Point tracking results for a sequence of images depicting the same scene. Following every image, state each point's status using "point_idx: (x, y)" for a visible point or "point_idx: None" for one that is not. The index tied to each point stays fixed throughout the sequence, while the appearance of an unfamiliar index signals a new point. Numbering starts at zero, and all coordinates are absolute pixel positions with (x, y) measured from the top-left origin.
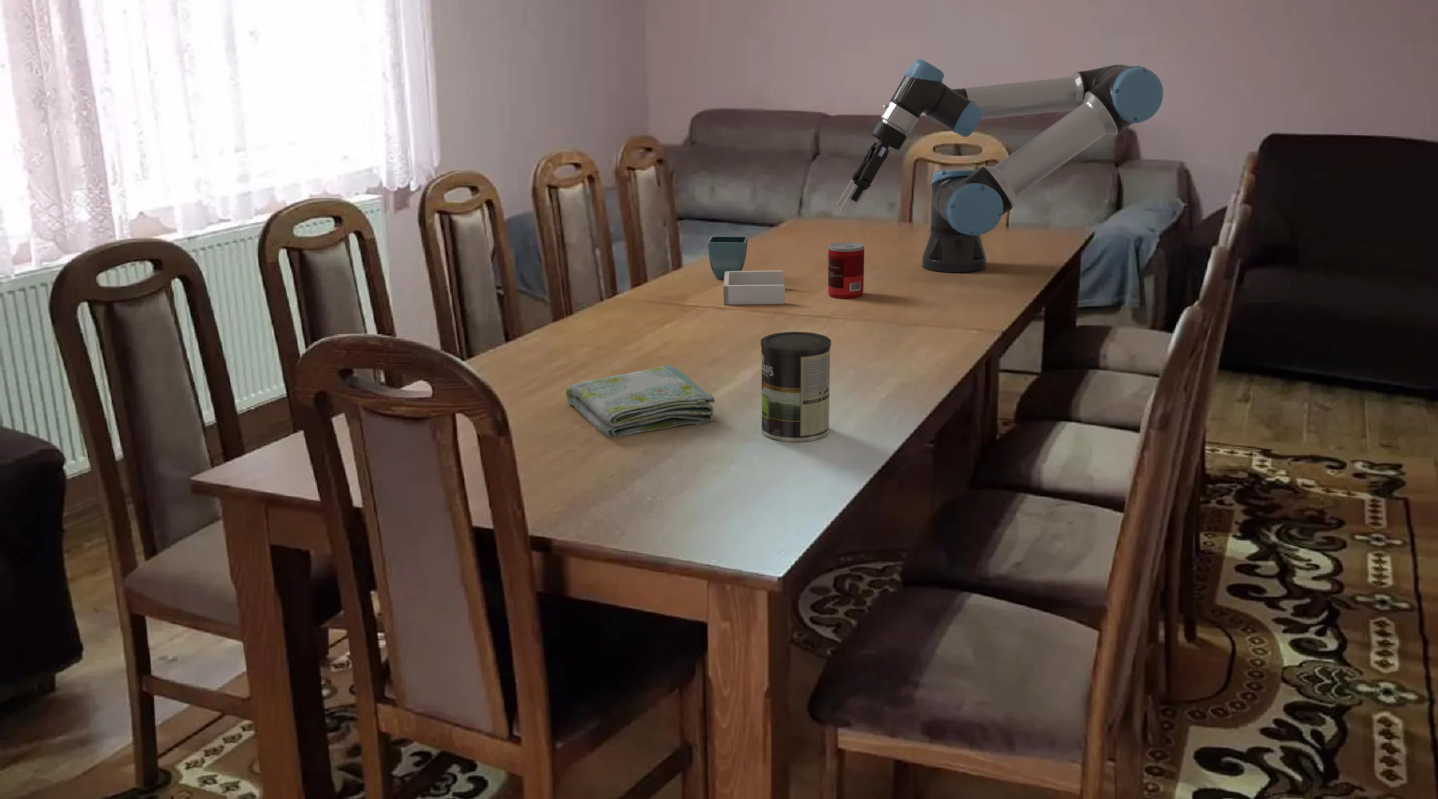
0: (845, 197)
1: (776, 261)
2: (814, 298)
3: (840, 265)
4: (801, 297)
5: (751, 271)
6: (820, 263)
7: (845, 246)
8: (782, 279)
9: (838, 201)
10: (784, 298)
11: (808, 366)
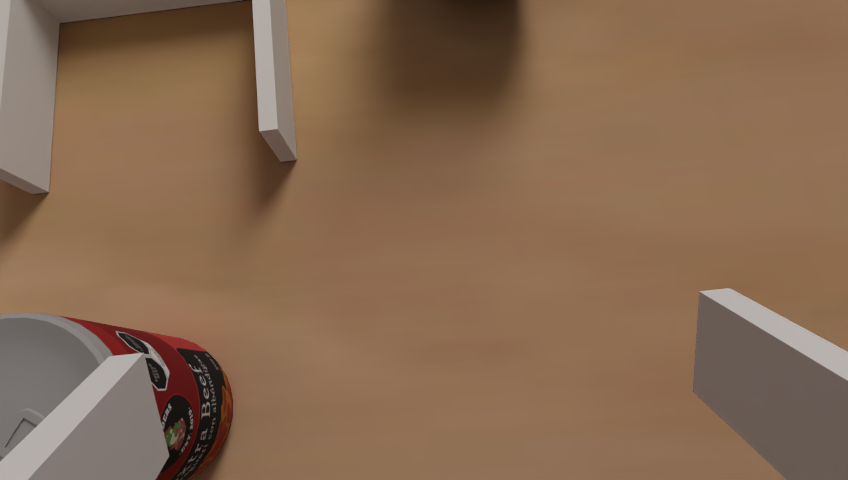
0: (766, 373)
1: (800, 81)
2: (115, 289)
3: None
4: (136, 240)
5: (258, 18)
6: (805, 255)
7: (14, 419)
8: (269, 144)
9: (745, 300)
10: (16, 185)
11: None
